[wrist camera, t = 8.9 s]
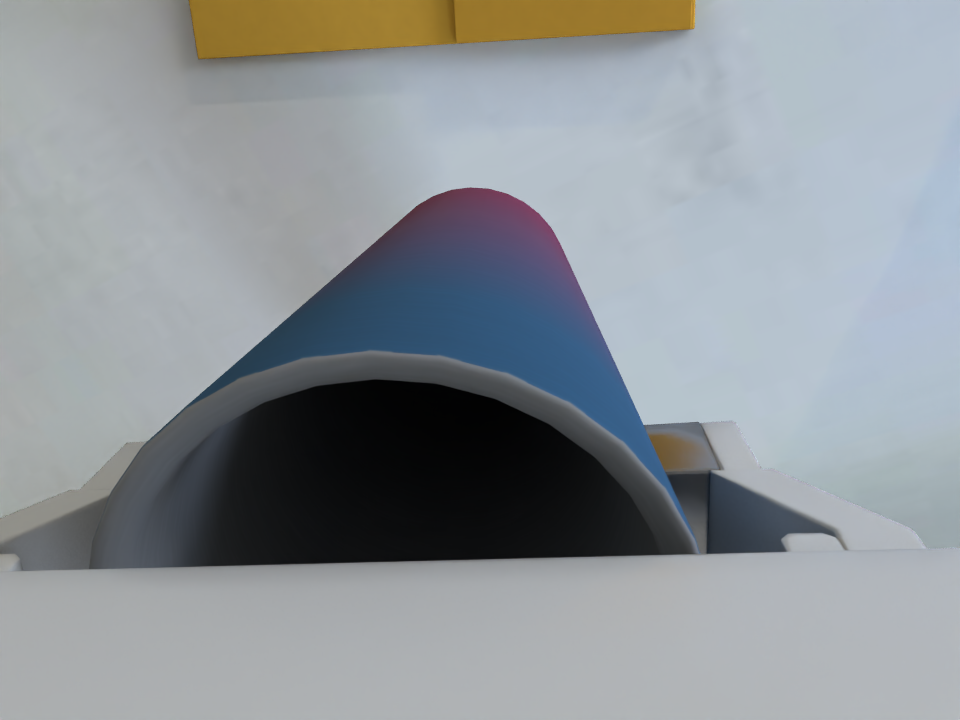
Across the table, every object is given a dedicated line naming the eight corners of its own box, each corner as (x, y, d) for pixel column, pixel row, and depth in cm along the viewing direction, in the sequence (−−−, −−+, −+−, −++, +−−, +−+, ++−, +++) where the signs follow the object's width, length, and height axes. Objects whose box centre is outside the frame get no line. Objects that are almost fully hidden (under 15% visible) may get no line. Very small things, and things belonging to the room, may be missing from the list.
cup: (387, 418, 25) (208, 909, 11) (317, 185, 23) (-21, 426, 9) (622, 370, 24) (755, 836, 10) (573, 124, 22) (657, 282, 8)
